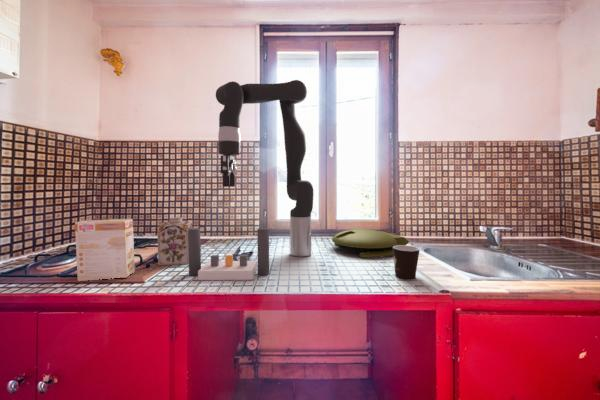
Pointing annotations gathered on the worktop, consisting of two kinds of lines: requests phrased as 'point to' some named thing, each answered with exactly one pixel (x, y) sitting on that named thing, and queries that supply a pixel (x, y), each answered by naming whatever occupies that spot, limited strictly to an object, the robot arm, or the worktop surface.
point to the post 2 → (263, 251)
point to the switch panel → (228, 269)
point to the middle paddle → (229, 260)
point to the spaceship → (369, 241)
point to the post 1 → (194, 251)
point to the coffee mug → (405, 261)
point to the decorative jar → (173, 242)
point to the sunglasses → (242, 254)
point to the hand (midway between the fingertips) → (229, 186)
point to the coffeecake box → (104, 249)
